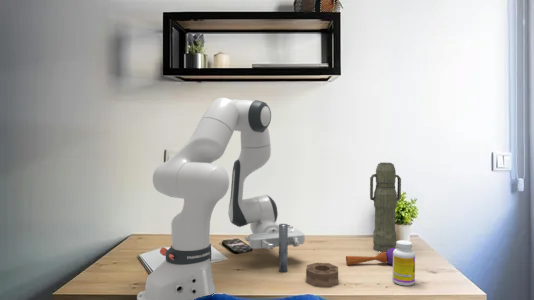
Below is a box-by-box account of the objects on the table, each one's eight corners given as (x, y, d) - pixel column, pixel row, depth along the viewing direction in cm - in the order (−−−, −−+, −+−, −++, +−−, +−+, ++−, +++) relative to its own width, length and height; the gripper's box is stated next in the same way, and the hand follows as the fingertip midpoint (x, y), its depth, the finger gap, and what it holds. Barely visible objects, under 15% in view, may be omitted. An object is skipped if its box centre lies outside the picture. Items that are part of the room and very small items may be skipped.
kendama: (344, 251, 141) (398, 246, 142) (346, 267, 140) (400, 263, 141) (347, 253, 135) (403, 248, 136) (349, 270, 135) (406, 265, 135)
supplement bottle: (416, 287, 118) (417, 246, 117) (393, 285, 119) (394, 244, 119) (412, 279, 125) (413, 239, 124) (391, 277, 126) (391, 238, 125)
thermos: (403, 252, 151) (404, 163, 150) (373, 252, 151) (374, 164, 149) (395, 245, 160) (396, 162, 158) (367, 246, 160) (368, 162, 158)
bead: (321, 289, 116) (321, 276, 116) (300, 279, 125) (300, 266, 124) (344, 281, 122) (344, 269, 122) (322, 272, 130) (322, 260, 130)
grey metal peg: (282, 273, 130) (282, 226, 129) (277, 270, 132) (277, 224, 132) (289, 271, 132) (289, 225, 131) (284, 268, 134) (284, 223, 133)
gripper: (243, 229, 141) (254, 239, 127) (295, 224, 147) (310, 233, 134) (243, 246, 141) (254, 257, 128) (295, 241, 147) (310, 251, 134)
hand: (283, 245), depth 131 cm, fingers open, 8 cm apart
